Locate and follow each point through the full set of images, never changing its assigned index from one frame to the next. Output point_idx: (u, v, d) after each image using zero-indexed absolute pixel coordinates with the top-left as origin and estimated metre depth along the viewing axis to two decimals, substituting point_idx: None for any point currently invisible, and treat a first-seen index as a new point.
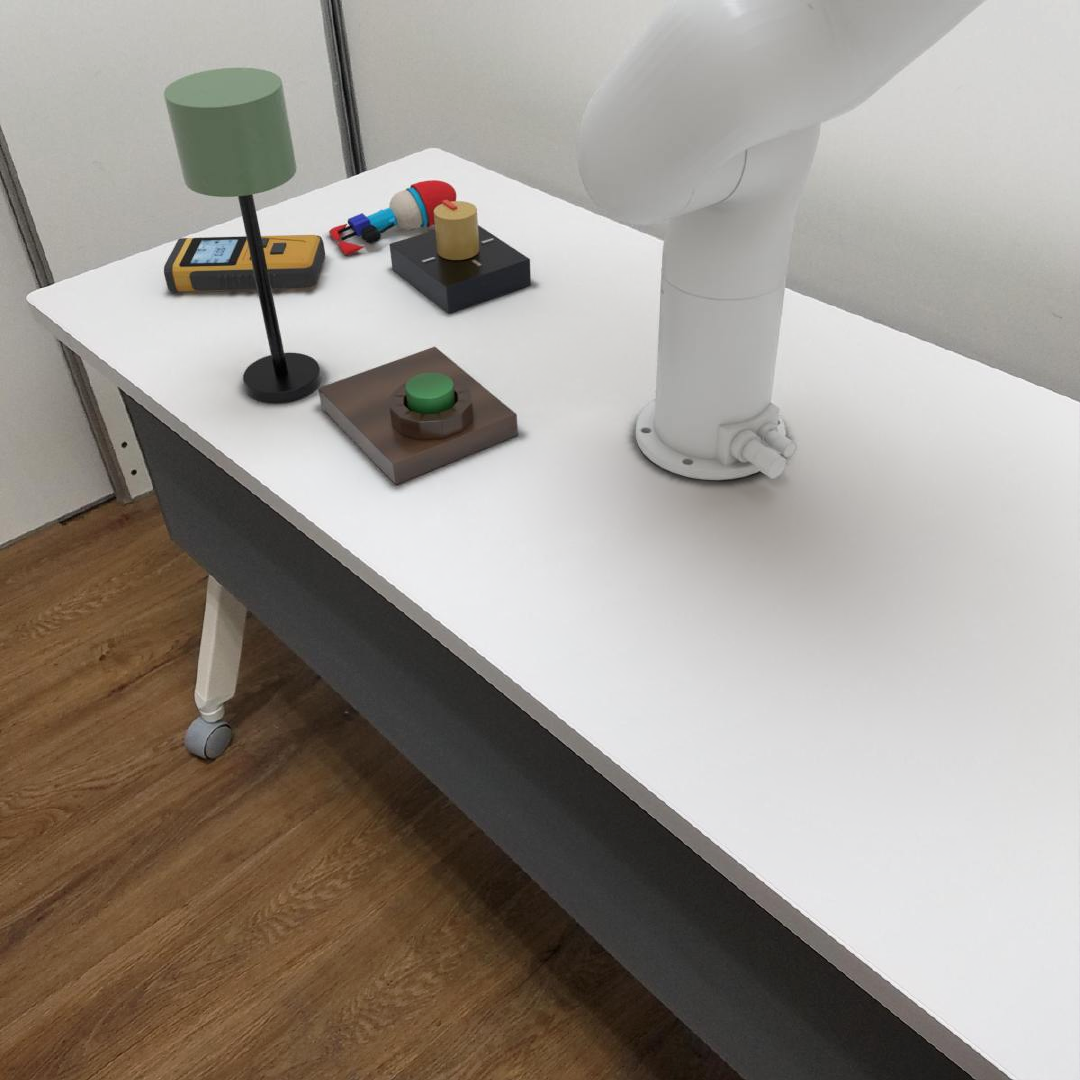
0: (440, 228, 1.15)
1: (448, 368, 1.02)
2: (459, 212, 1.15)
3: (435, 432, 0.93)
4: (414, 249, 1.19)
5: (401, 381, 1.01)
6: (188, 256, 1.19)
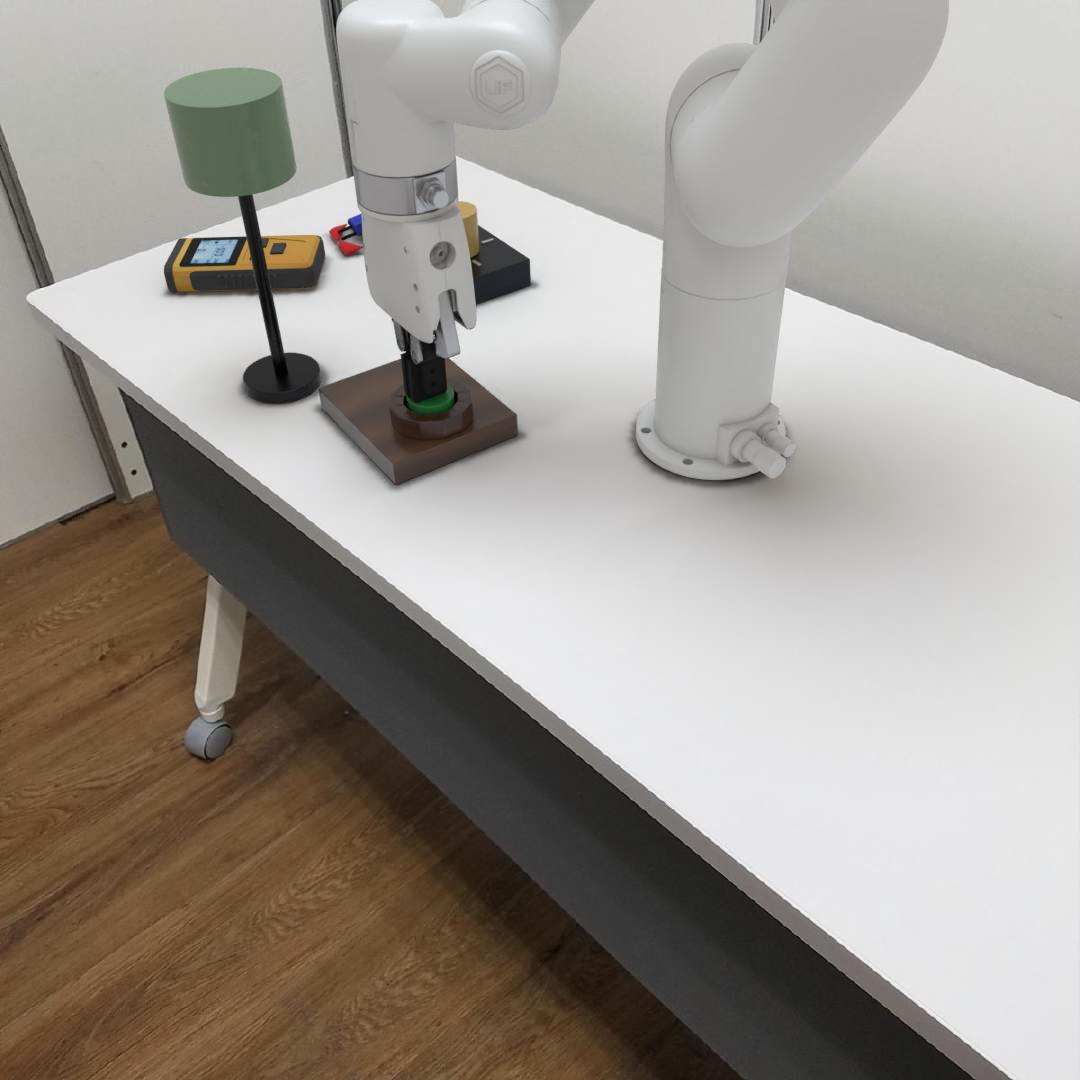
0: None
1: (448, 368, 1.02)
2: None
3: (435, 432, 0.93)
4: None
5: (401, 381, 1.01)
6: (188, 256, 1.19)
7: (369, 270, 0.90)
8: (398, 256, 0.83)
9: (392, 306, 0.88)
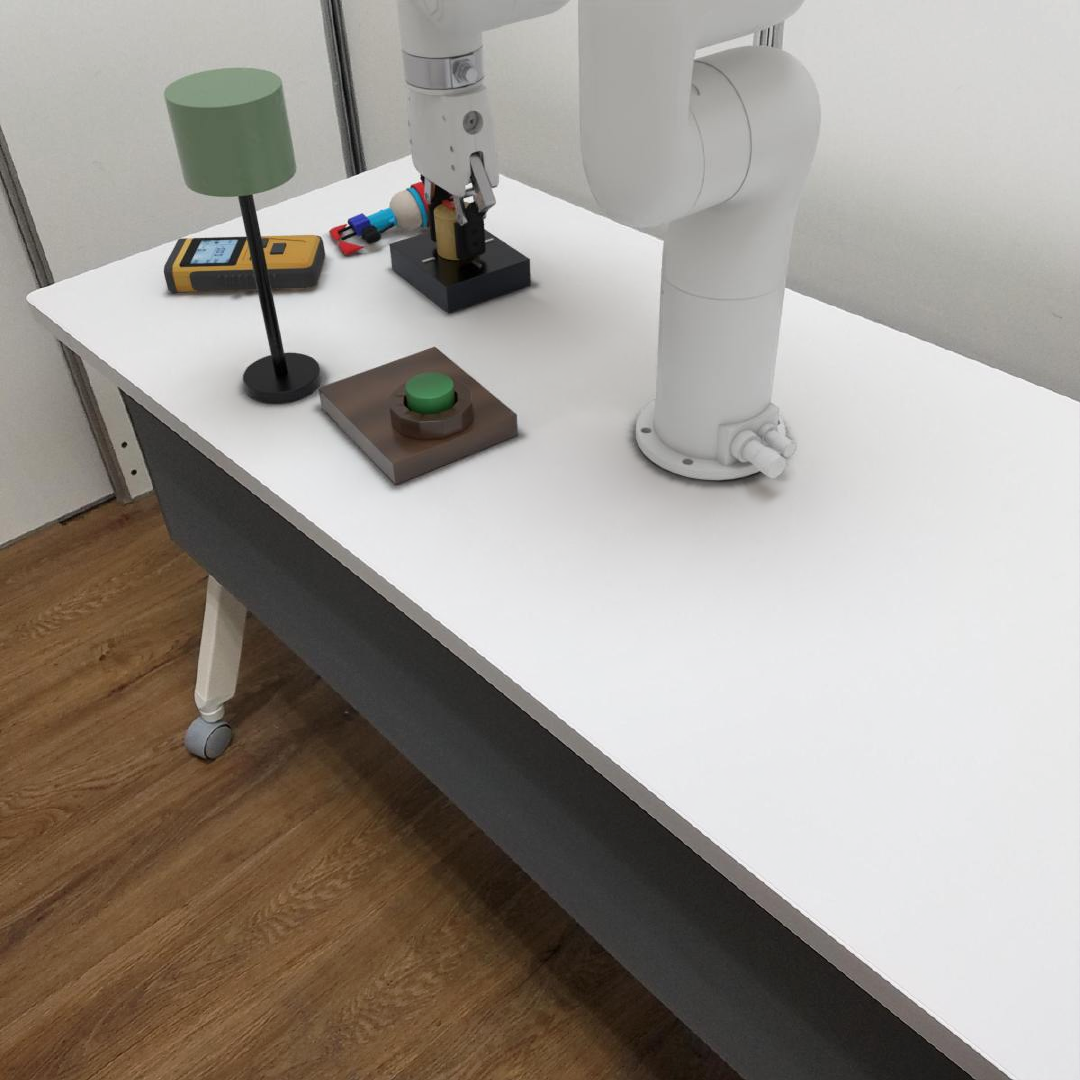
0: (440, 228, 1.15)
1: (448, 368, 1.02)
2: None
3: (435, 432, 0.93)
4: (414, 249, 1.19)
5: (401, 381, 1.01)
6: (188, 256, 1.19)
7: (413, 143, 1.13)
8: (438, 124, 1.07)
9: (432, 170, 1.11)
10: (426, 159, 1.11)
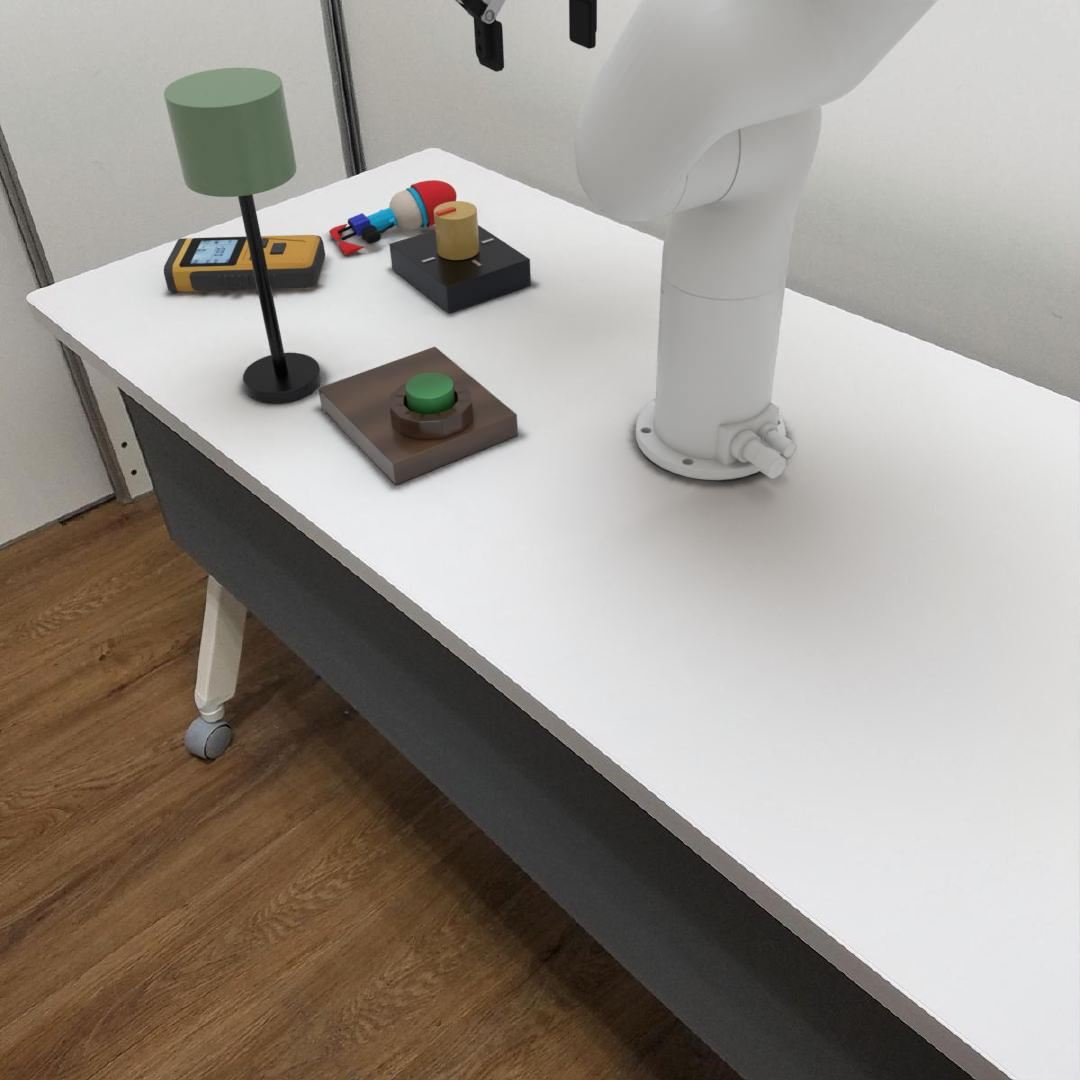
0: (471, 227, 1.15)
1: (448, 368, 1.02)
2: (462, 207, 1.16)
3: (435, 432, 0.93)
4: (414, 249, 1.19)
5: (401, 381, 1.01)
6: (188, 256, 1.19)
7: None
8: None
9: None
10: None
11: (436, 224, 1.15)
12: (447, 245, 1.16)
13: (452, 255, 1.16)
